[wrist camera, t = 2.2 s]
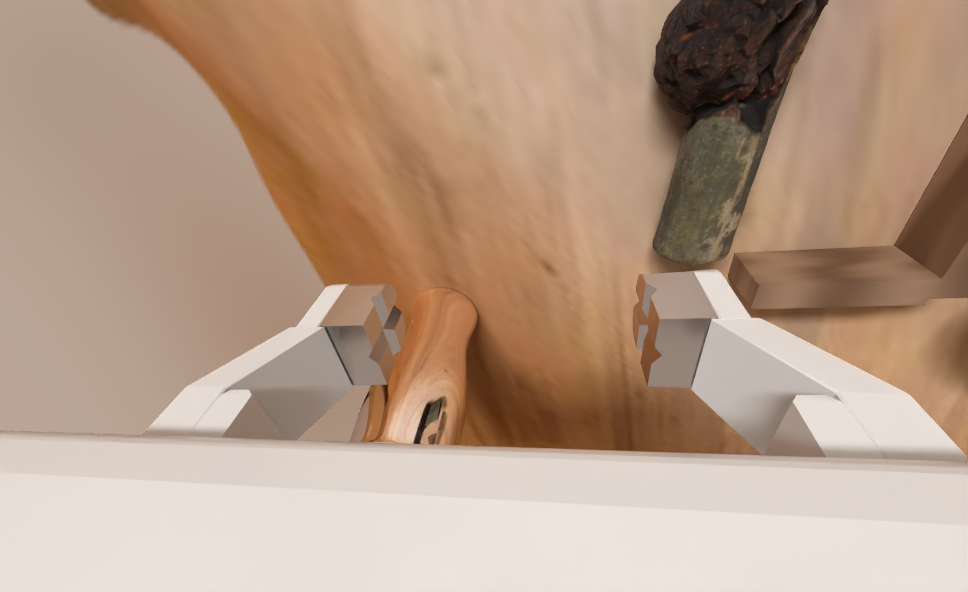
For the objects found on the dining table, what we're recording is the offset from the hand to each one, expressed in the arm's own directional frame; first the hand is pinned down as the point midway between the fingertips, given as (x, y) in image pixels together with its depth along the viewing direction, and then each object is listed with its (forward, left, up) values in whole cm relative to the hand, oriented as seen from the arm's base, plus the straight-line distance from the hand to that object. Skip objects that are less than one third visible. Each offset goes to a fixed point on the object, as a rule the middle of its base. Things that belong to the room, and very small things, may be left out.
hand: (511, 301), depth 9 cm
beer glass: (+9, +16, -19) cm, 27 cm away
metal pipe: (-10, 0, -20) cm, 22 cm away
